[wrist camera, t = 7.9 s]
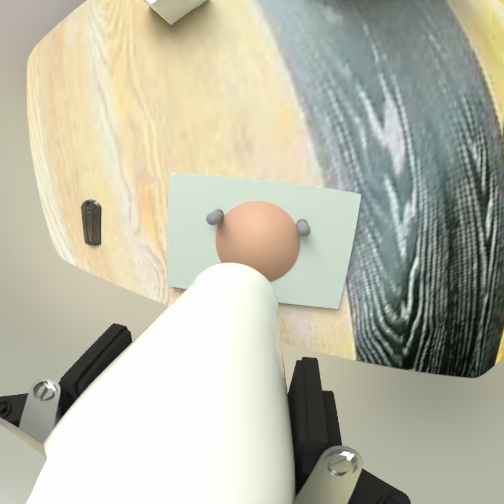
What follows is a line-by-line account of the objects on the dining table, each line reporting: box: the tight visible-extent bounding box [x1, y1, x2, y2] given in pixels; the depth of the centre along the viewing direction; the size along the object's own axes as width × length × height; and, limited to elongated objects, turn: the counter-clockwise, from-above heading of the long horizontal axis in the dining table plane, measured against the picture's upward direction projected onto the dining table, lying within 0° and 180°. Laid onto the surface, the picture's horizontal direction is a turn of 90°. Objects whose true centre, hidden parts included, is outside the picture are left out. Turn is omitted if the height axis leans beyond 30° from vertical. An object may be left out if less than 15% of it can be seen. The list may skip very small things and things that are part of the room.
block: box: [81, 200, 101, 245], centre depth 31 cm, size 4×6×2 cm, turn 177°
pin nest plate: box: [167, 173, 361, 309], centre depth 28 cm, size 20×13×4 cm, turn 84°
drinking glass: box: [26, 263, 296, 504], centre depth 9 cm, size 7×7×15 cm
